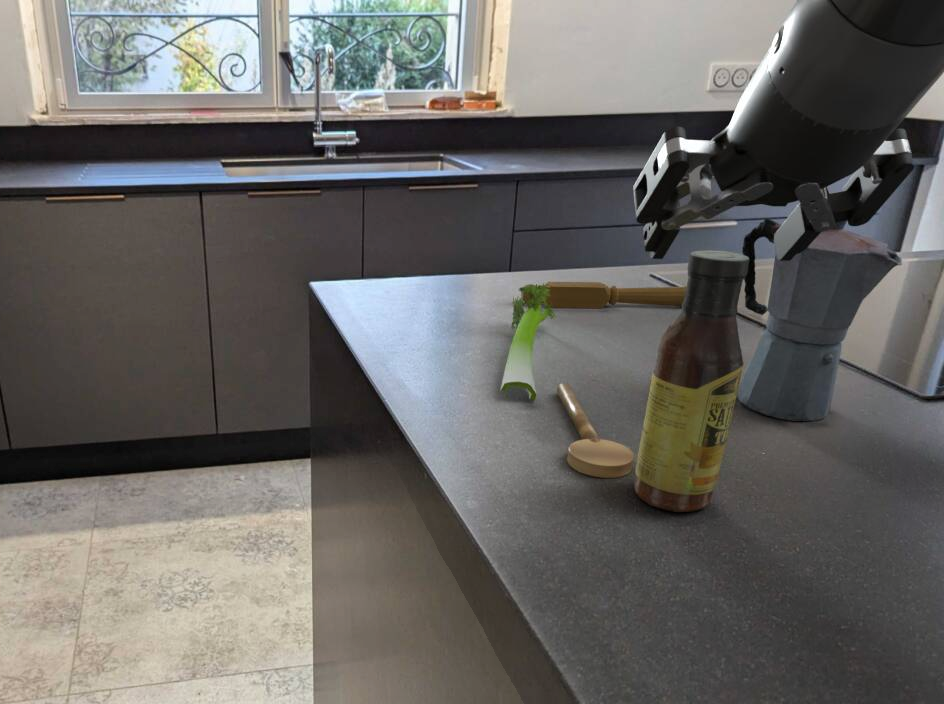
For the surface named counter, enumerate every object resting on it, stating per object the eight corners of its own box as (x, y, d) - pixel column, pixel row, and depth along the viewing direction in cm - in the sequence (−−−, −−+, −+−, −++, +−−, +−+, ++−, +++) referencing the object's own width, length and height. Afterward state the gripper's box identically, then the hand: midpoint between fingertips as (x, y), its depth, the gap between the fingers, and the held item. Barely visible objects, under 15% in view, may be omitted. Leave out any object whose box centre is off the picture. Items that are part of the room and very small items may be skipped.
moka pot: (829, 441, 78) (891, 226, 69) (684, 392, 89) (722, 202, 81) (876, 418, 83) (938, 215, 74) (733, 375, 94) (773, 194, 86)
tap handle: (734, 289, 118) (524, 286, 118) (729, 310, 119) (522, 307, 120) (725, 284, 121) (520, 281, 121) (721, 304, 122) (518, 301, 123)
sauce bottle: (703, 524, 64) (760, 269, 55) (622, 503, 67) (664, 258, 58) (718, 490, 69) (773, 252, 60) (642, 472, 72) (684, 242, 63)
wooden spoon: (535, 392, 89) (536, 380, 88) (587, 393, 89) (589, 381, 88) (574, 477, 71) (576, 462, 70) (639, 478, 71) (642, 464, 70)
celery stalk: (482, 413, 88) (505, 315, 114) (547, 427, 87) (556, 325, 112) (494, 361, 85) (515, 272, 110) (561, 376, 84) (567, 282, 109)
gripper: (712, 125, 40) (616, 295, 55) (1012, 127, 39) (832, 298, 55) (694, 7, 42) (608, 201, 58) (977, 7, 42) (814, 203, 57)
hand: (717, 248), depth 56 cm, fingers open, 8 cm apart
